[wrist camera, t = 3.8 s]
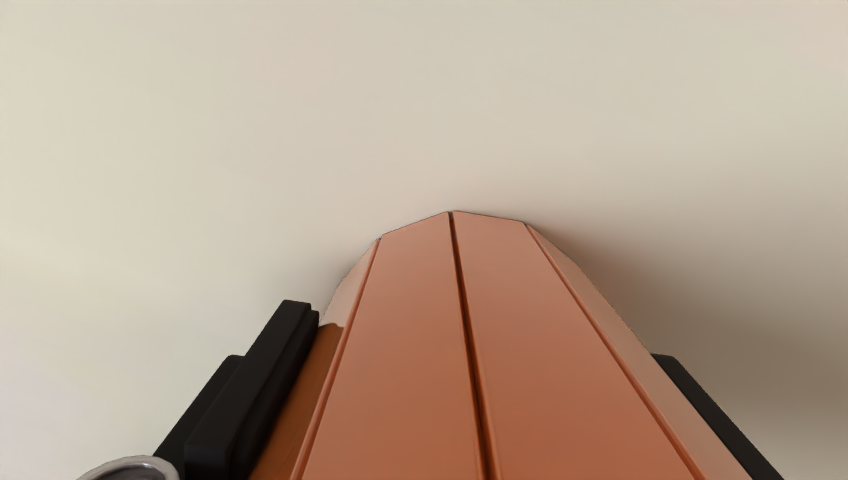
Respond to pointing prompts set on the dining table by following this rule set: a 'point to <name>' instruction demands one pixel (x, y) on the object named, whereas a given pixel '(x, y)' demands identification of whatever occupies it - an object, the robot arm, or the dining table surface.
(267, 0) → the dining table surface
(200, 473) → the robot arm
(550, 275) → the cup
